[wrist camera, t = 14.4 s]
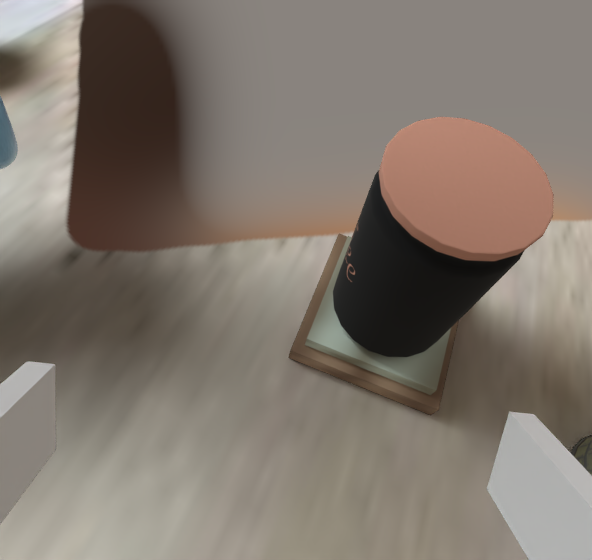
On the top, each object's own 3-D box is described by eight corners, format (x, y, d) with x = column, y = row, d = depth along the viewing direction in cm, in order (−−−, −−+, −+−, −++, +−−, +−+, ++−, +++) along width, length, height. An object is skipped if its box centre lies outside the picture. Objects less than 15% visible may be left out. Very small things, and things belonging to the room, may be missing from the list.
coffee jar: (378, 239, 48) (446, 92, 32) (464, 309, 45) (585, 186, 29) (306, 305, 43) (344, 171, 28) (396, 387, 40) (496, 290, 25)
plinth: (288, 357, 44) (292, 344, 41) (335, 243, 51) (341, 225, 48) (430, 415, 43) (445, 405, 40) (459, 290, 50) (473, 274, 47)
